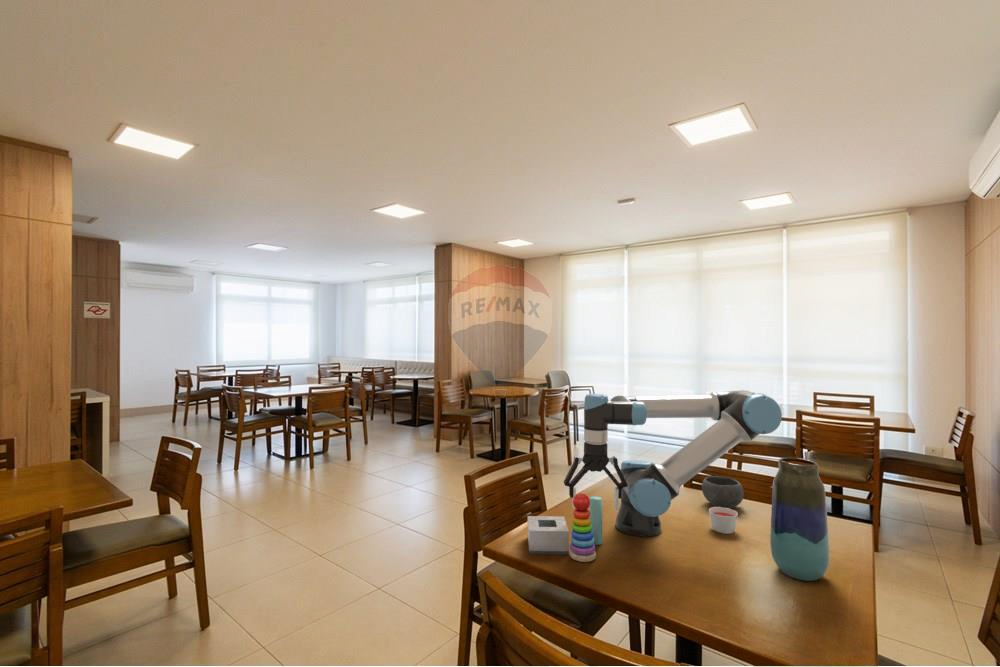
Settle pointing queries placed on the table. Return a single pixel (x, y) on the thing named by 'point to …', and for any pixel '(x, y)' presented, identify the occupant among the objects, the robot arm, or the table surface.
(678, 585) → the table surface
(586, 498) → the stacking toy
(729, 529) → the candle
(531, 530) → the socket block
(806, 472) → the vase
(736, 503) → the bowl
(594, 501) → the peg
